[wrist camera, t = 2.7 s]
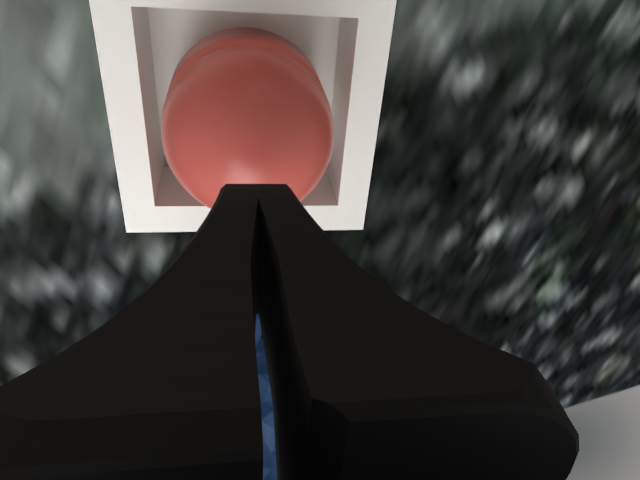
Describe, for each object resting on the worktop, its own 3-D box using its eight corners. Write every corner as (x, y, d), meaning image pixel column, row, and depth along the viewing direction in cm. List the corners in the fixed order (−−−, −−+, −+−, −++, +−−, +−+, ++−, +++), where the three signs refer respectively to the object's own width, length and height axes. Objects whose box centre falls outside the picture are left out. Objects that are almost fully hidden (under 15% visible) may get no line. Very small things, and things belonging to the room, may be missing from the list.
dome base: (348, 188, 21) (363, 229, 18) (139, 187, 20) (126, 232, 17) (375, -36, 16) (399, -20, 14) (106, -55, 15) (82, -40, 13)
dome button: (316, 170, 18) (338, 250, 15) (176, 169, 18) (160, 253, 14) (327, 27, 16) (358, 79, 12) (162, 19, 15) (138, 71, 11)
